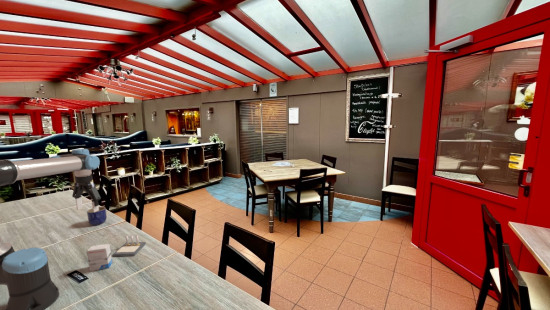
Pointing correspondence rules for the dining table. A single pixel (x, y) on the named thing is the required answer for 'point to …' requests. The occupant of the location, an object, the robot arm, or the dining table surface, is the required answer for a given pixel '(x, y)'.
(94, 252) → the ink box
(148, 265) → the dining table surface
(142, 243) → the header board
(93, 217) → the planter
